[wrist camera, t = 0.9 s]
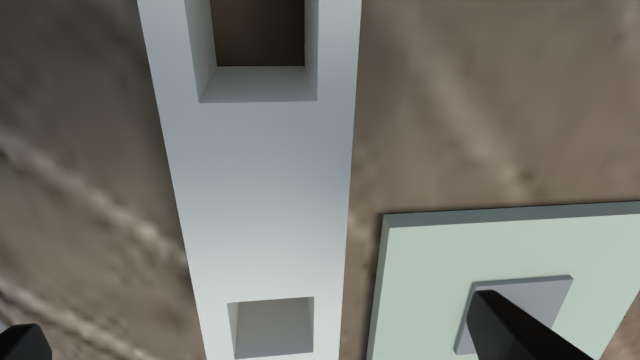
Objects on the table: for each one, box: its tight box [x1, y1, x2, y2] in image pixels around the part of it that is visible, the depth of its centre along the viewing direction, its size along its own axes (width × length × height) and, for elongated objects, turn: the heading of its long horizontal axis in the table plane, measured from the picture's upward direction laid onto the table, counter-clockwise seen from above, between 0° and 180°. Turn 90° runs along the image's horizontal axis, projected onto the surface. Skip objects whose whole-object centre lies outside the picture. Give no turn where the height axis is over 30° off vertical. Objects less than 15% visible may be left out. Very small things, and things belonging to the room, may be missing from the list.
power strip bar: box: [137, 0, 362, 360], centre depth 13 cm, size 5×16×4 cm, turn 179°
